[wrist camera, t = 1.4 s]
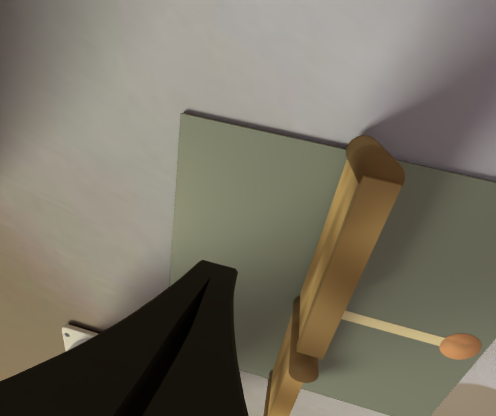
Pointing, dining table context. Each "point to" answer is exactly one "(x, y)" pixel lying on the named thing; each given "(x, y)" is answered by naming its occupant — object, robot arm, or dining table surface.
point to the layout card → (373, 276)
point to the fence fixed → (289, 370)
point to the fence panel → (347, 240)
